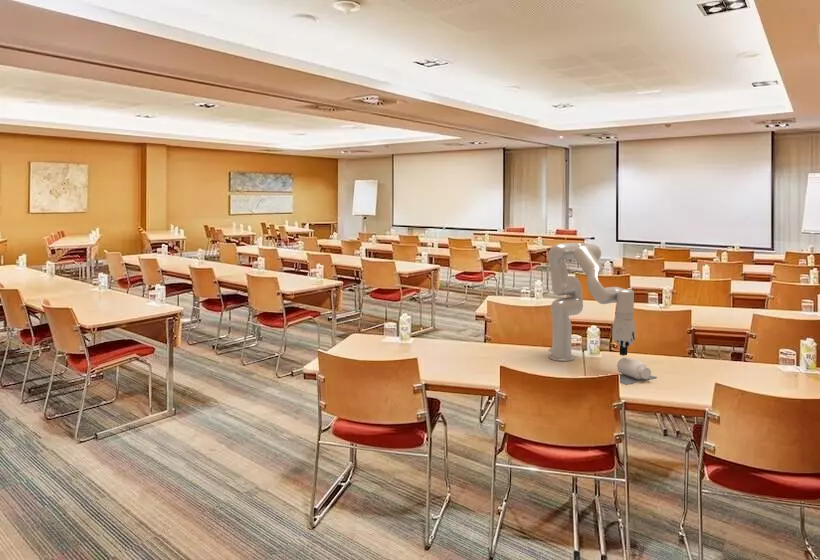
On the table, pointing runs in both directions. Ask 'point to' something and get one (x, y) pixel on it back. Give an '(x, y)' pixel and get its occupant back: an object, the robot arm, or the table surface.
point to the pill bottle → (633, 368)
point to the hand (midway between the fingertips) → (623, 354)
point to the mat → (632, 379)
